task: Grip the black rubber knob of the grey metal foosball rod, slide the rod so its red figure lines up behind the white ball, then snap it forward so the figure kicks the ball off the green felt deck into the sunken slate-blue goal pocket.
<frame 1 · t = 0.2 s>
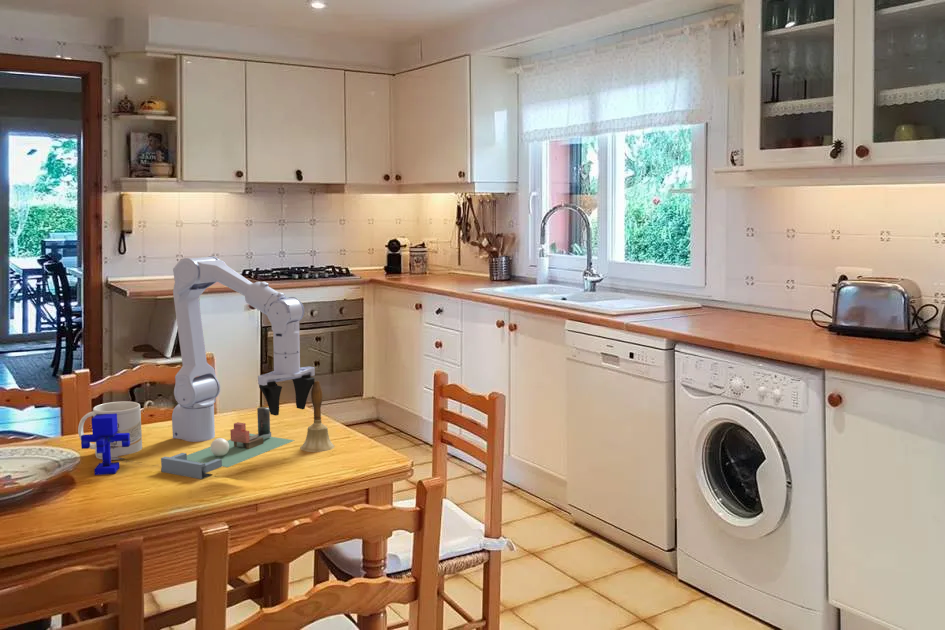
hand: (287, 411, 189), 10 cm above the table, fingers open, 7 cm apart
goal: (192, 471, 178), on the table
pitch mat: (238, 453, 191), on the table
mug: (114, 454, 190), on the table
rail guides: (248, 445, 194), resting on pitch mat
figurine: (107, 472, 178), on the table
ball: (219, 447, 185), point 3 cm above the table, touching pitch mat
hand bell: (317, 450, 193), on the table, touching gripper
kicker rod: (253, 426, 195), point 5 cm above the table, slide at 0.0 cm
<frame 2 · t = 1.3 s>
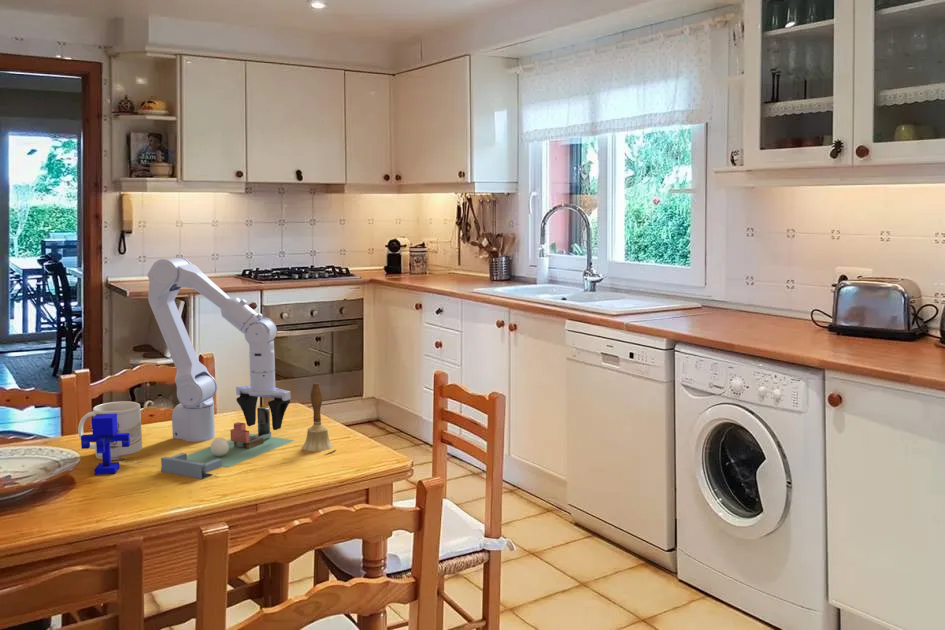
hand: (264, 427, 199), 4 cm above the table, fingers open, 7 cm apart
hand bell: (317, 451, 193), on the table
everything else where it was.
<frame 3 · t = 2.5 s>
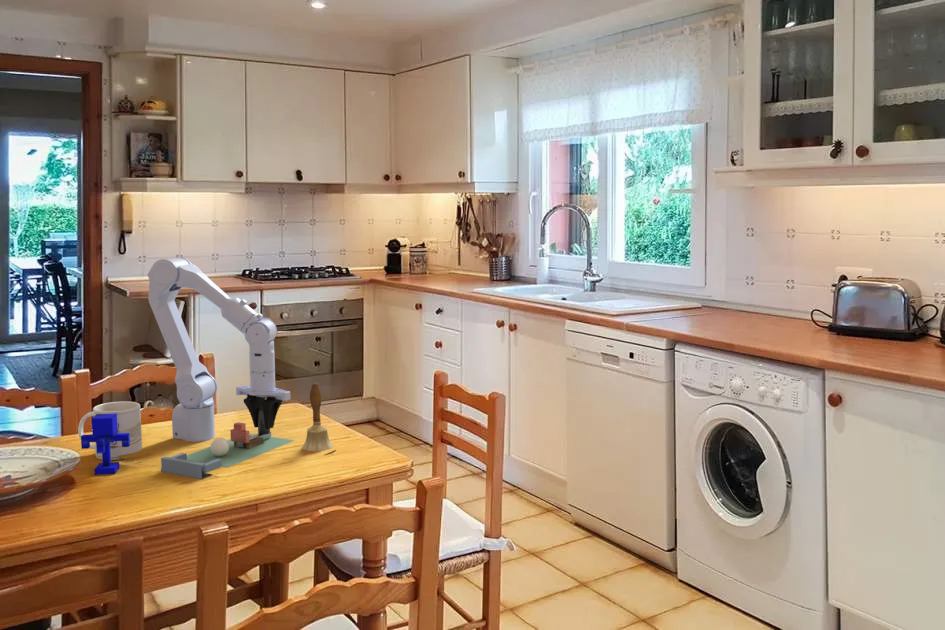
hand: (263, 427, 199), 4 cm above the table, fingers closed on kicker rod, 3 cm apart
kicker rod: (253, 426, 195), point 5 cm above the table, slide at 0.0 cm, touching gripper
everything else where it was.
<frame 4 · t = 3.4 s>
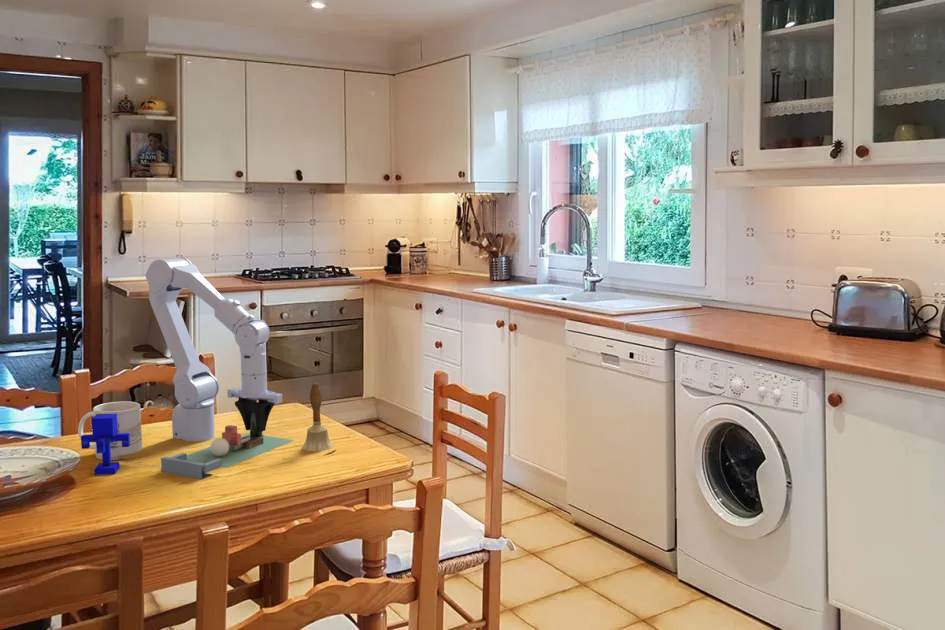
hand: (255, 430, 196), 4 cm above the table, fingers closed on kicker rod, 3 cm apart
kicker rod: (245, 429, 192), point 5 cm above the table, slide at 2.8 cm, touching gripper
everything else where it was.
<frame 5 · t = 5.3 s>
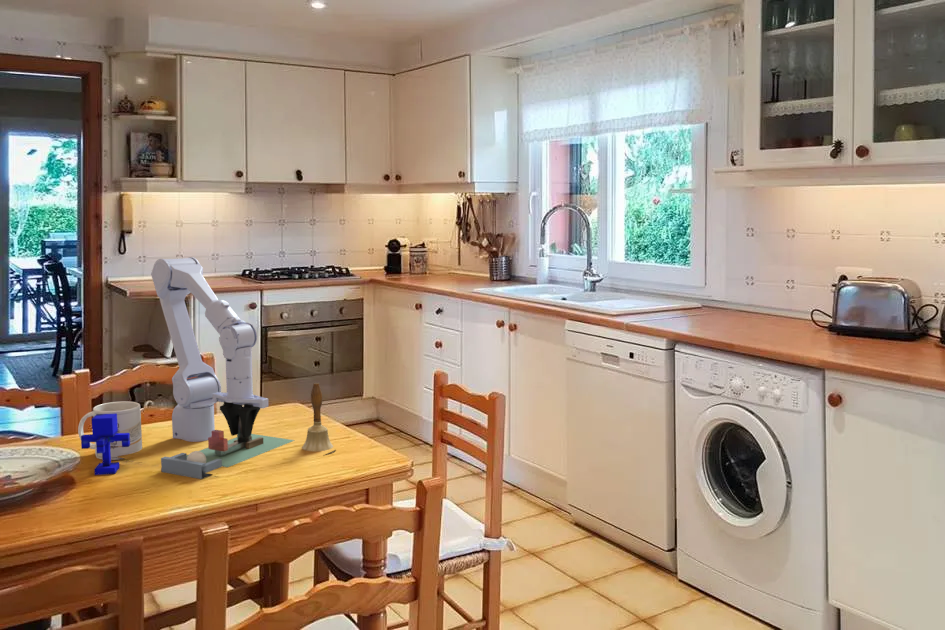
hand: (241, 435, 191), 4 cm above the table, fingers closed on kicker rod, 3 cm apart
ball: (196, 460, 179), point 2 cm above the table, tilted 138°
kicker rod: (232, 434, 189), point 5 cm above the table, slide at 7.2 cm, touching gripper
everything else where it was.
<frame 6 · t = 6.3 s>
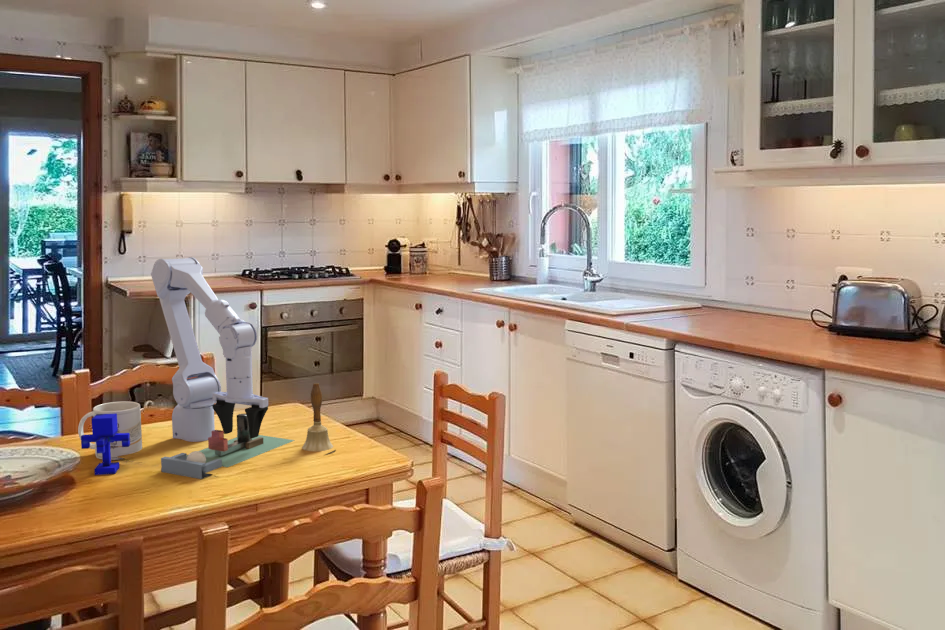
hand: (241, 435, 191), 4 cm above the table, fingers open, 7 cm apart
kicker rod: (232, 434, 189), point 5 cm above the table, slide at 7.2 cm
everything else where it was.
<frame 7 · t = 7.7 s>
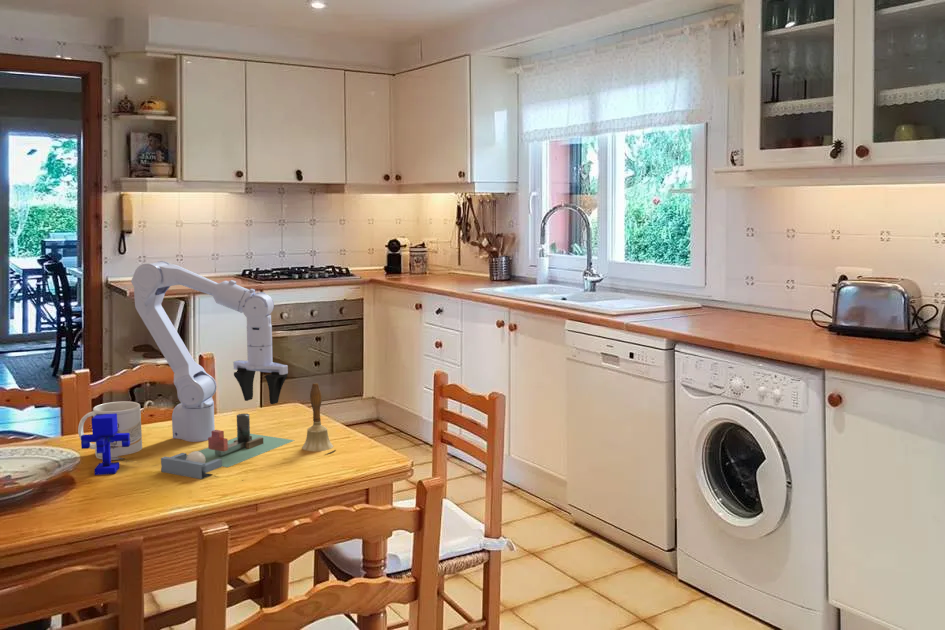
hand: (261, 401, 199), 10 cm above the table, fingers open, 7 cm apart
nothing on the table moved.
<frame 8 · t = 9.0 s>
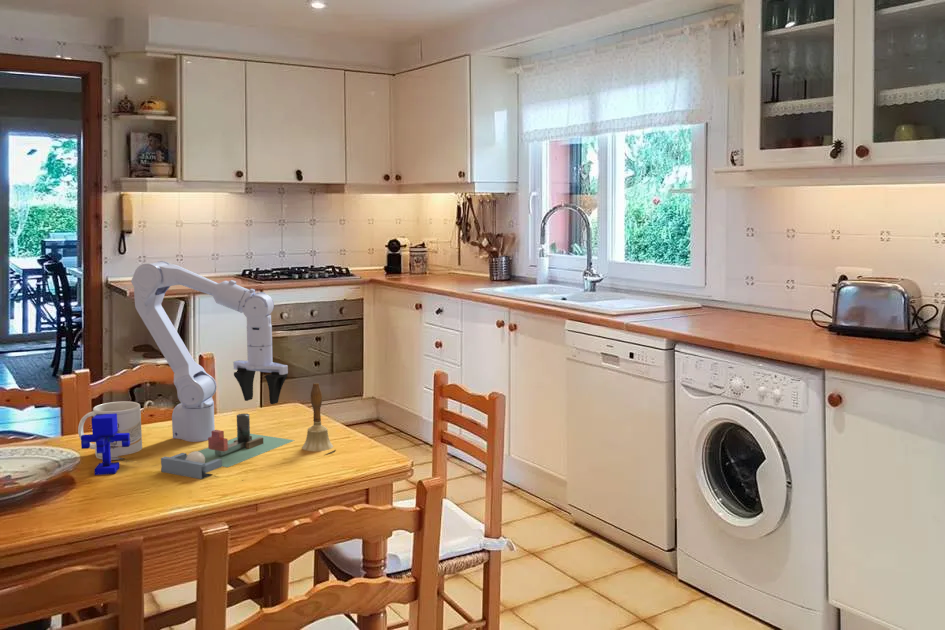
hand: (261, 401, 199), 10 cm above the table, fingers open, 7 cm apart
nothing on the table moved.
at the end: ball 0.2 cm off-centre on the goal, point 2.0 cm above the goal's base; kicker rod slide at 7.2 cm; the gripper is holding nothing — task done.
